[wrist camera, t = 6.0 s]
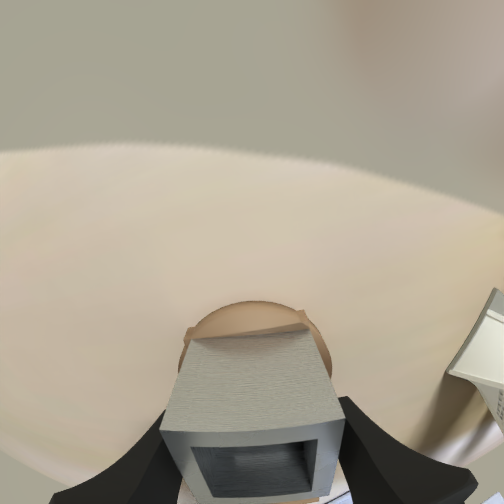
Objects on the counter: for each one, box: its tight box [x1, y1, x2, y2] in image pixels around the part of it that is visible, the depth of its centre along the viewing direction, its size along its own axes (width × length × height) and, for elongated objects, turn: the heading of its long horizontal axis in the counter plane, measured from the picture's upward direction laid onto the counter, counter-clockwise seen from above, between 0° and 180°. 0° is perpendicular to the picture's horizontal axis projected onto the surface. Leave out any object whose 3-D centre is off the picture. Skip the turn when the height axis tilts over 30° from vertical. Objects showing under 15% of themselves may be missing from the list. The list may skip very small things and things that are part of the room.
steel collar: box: [159, 329, 345, 504], centre depth 10 cm, size 6×6×6 cm
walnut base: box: [178, 301, 332, 504], centre depth 14 cm, size 21×8×4 cm, turn 10°
